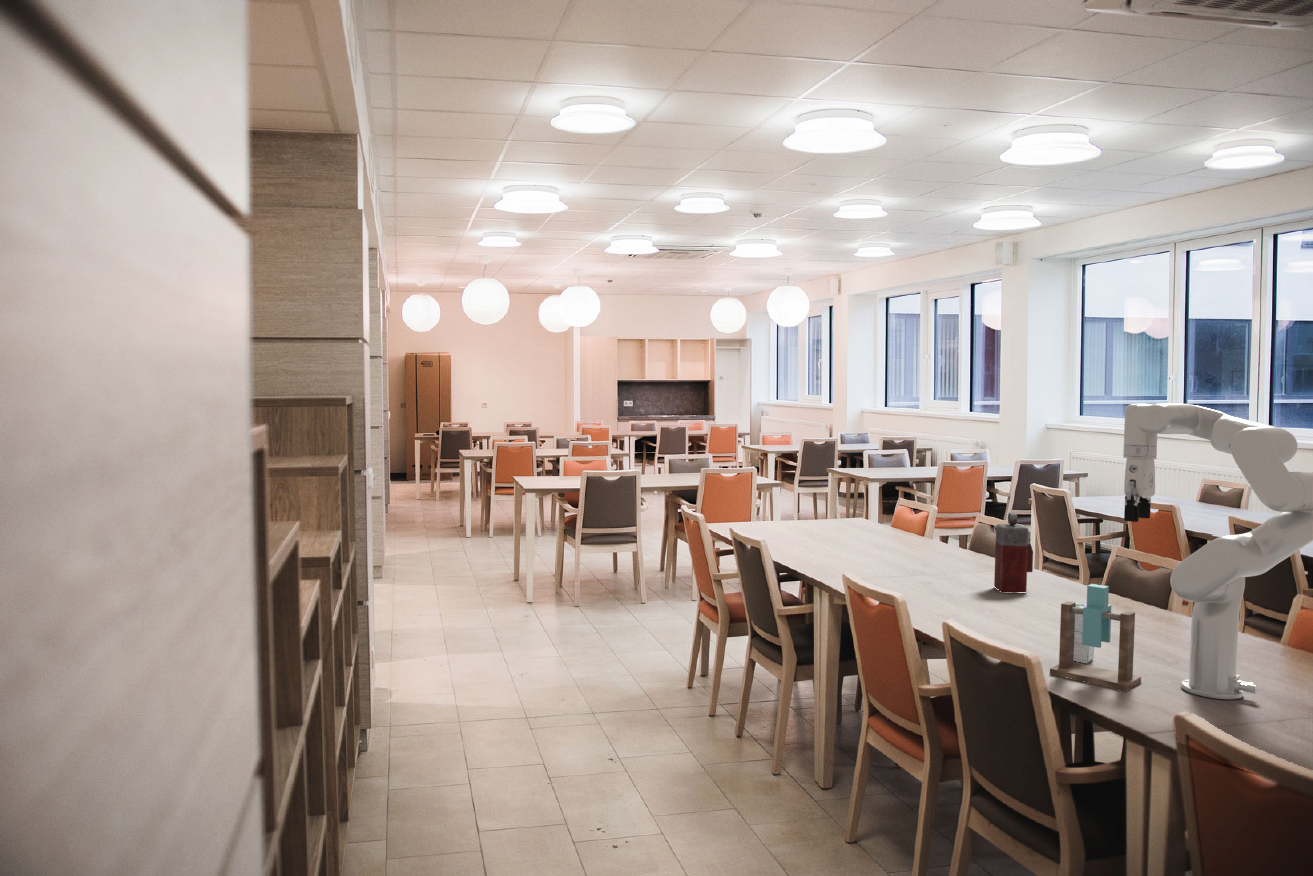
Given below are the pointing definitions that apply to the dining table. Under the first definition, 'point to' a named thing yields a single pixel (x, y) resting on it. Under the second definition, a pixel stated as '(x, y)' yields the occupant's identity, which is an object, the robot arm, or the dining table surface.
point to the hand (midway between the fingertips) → (1137, 519)
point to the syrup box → (1081, 651)
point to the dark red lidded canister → (1012, 556)
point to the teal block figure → (1096, 616)
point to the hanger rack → (1089, 673)
